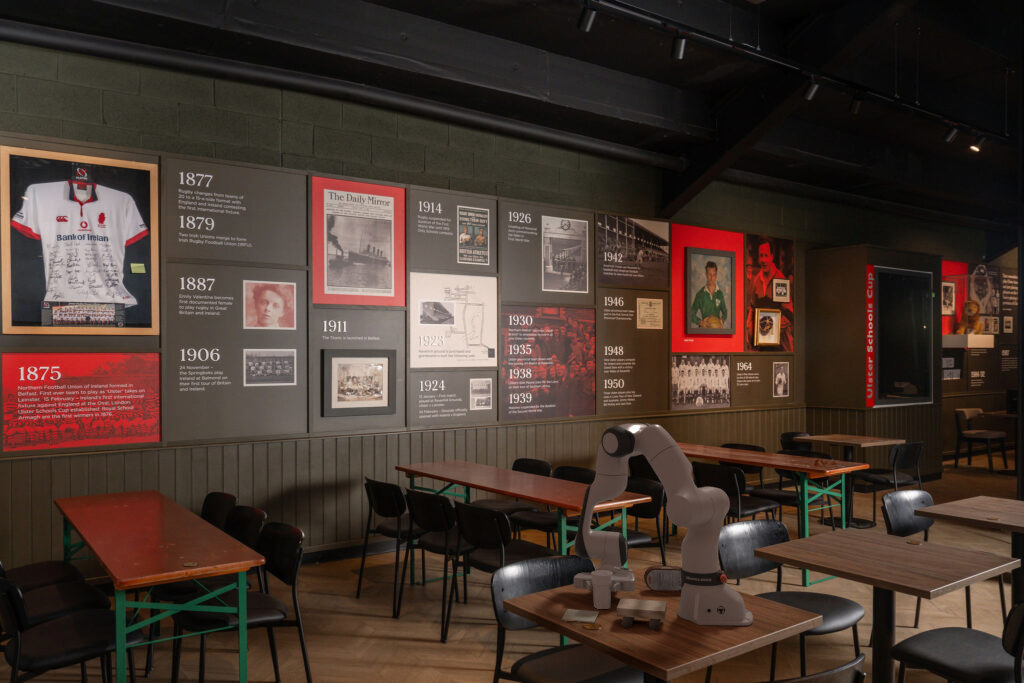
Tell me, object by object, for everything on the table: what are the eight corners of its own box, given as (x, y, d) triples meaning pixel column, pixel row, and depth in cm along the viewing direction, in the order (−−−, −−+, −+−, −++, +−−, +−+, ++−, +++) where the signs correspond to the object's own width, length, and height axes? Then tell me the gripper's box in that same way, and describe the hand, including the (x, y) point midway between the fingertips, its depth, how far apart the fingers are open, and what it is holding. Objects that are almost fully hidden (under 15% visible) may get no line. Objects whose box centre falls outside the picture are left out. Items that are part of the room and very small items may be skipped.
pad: (599, 613, 235) (599, 611, 235) (594, 623, 225) (594, 621, 225) (567, 611, 237) (567, 609, 238) (561, 621, 228) (561, 619, 228)
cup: (601, 612, 236) (601, 576, 237) (587, 607, 241) (587, 572, 242) (616, 608, 240) (616, 573, 240) (602, 603, 245) (602, 569, 246)
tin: (687, 590, 260) (687, 565, 260) (689, 592, 257) (688, 568, 257) (644, 589, 261) (643, 565, 262) (644, 592, 258) (644, 567, 258)
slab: (667, 618, 229) (666, 600, 230) (664, 631, 218) (664, 612, 218) (621, 615, 233) (621, 597, 233) (616, 627, 222) (616, 609, 222)
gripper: (576, 566, 256) (569, 576, 243) (637, 569, 251) (632, 580, 238) (577, 584, 256) (569, 596, 243) (637, 588, 251) (633, 600, 237)
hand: (601, 588), depth 240 cm, fingers closed on cup, 6 cm apart
